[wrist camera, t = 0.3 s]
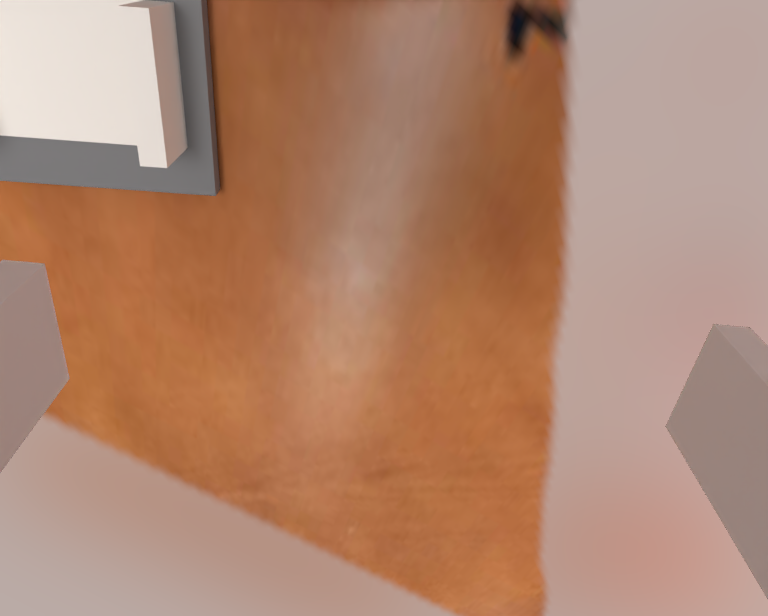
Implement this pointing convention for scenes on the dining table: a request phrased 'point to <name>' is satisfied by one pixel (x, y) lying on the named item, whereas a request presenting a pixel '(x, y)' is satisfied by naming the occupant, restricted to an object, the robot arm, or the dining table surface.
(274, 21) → the dining table surface
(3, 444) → the robot arm
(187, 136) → the board
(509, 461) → the dining table surface
